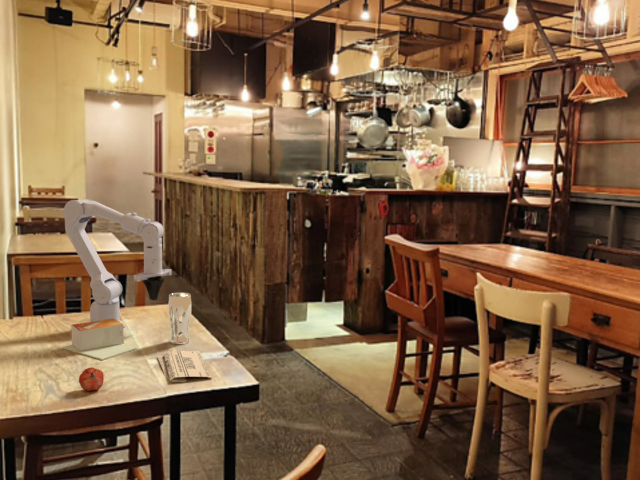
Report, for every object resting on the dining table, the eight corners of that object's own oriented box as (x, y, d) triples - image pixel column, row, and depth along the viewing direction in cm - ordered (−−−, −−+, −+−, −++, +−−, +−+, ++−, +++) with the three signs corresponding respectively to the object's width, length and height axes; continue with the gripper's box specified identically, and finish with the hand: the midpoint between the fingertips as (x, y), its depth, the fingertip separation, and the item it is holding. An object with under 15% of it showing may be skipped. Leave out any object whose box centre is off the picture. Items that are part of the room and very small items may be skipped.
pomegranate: (78, 394, 142) (75, 385, 136) (81, 372, 145) (79, 362, 139) (102, 395, 143) (101, 386, 137) (105, 373, 146) (104, 363, 140)
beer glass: (195, 339, 183) (195, 293, 181) (183, 346, 176) (183, 298, 174) (176, 337, 185) (176, 291, 183) (164, 343, 178) (163, 295, 176)
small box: (123, 323, 175) (79, 330, 167) (124, 343, 176) (79, 351, 167) (114, 317, 181) (70, 324, 173) (114, 337, 182) (71, 344, 174)
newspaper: (156, 358, 166) (157, 350, 166) (199, 359, 170) (200, 351, 170) (162, 387, 145) (163, 377, 145) (211, 387, 149) (212, 377, 149)
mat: (62, 348, 171) (62, 347, 171) (96, 338, 181) (96, 337, 181) (102, 360, 162) (102, 359, 162) (136, 349, 172) (136, 348, 172)
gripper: (144, 263, 181) (144, 305, 182) (178, 257, 193) (178, 297, 195) (128, 260, 184) (129, 302, 186) (162, 255, 197) (163, 294, 198)
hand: (153, 299), depth 191 cm, fingers closed
